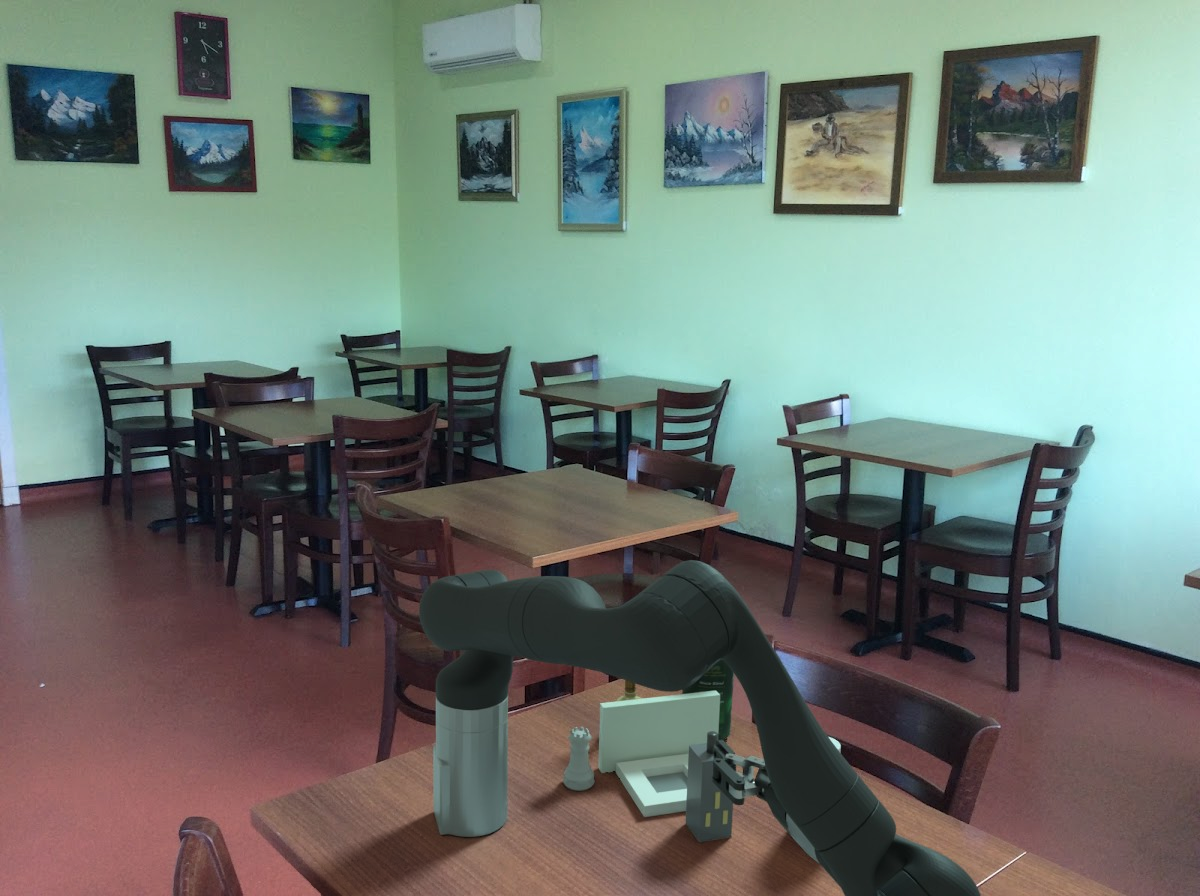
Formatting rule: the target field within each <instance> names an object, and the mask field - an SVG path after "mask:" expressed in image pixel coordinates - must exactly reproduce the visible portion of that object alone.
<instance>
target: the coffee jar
mask: <svg viewBox="0 0 1200 896" xmlns="http://www.w3.org/2000/svg"><path fill="white" fill-rule="evenodd" d="M734 680H735V674H734V673H733V671H732V670H731V669H730V667H729V666H728V665H727V664H726V662H725V661H724V660H723V659H721V660H720V661H719V662H717V663H716V664H715V665H714V666H713V667H712V668H711V669H710V670H708V671H707V672H706V673H705V674H704V675H703V676H702V677H701V678H700V679H698V680H697V681H696V682H695V683H693V684H692V685H690V686H689V687H687V688H685V689H683V690H681V691H682V692H681V694H689V693H698V692H707V691H717V692H718V693H719V694H720V710H719V730H718V740H726V739H727V738H728V737H729V736H730V734H731V727H732V710H733V709H732V708H733V698H734V697H733V694H734Z"/></svg>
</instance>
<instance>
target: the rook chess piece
mask: <svg viewBox="0 0 1200 896" xmlns="http://www.w3.org/2000/svg"><path fill="white" fill-rule="evenodd" d="M567 738H568V741H569V742H570V746H569V749H570V757H569V763H568V764H567V766H566V769H564V772H563V779H562V782H563V784H564V786H565V787H566V788H567V789H568V790H572V791H577V792H581V791H582V792H583V791H587V790H589V789H591V788H592V787H593V786H594V785H595V782H596V781H595V779H594V777H595V772H594V770H593V769H592V766H591V764H590V760H589V759H590V757H589V750H590V748H591V746H590V745H589V743H590V741H591V740H592V738H593V737H592V734H590V731H589V729H588V728H587V727H586V728H584V726H580V727H579V729H578V727H577V726H575V727H573V729H572V728H571V730H570V733H569V734H568V737H567Z"/></svg>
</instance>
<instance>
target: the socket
mask: <svg viewBox="0 0 1200 896" xmlns="http://www.w3.org/2000/svg"><path fill="white" fill-rule="evenodd" d="M719 710H720V694H719V693H718V692H717V691H707V692H698V693H689V694H682V693H681V694H672V695H662V696H652V697H646V698H645V697H644V698H643V697H642V699H634V700H625V701H617V700H616V701H607V702H600V703H599V727H598V728H599V730H598V735H599V736H598V767H597V768H598V770H599V771H600V773H601V774H606V773H605V772H608V773H613V771H615V774H616V775H617V777H618V778H620V779H619V780H620V782H621V784H622V785H623V787H624V788H625V790H626V791H627V792H628V794H629V796H630V797H631V799H632V800H633V802H634V803H635V805H636V807H637V808H638V809H639V811H640V814H642V816H643V817H644V818H648V817H649V818H650V817H655V816H661V815H668V814H669V815H670V814H675V813H682V812H683V813H684V812H686V801H687V778H688V756H689V745H696V744H704V743H707V733H708V732H710V731H714V732H717V733H718V730H719Z"/></svg>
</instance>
